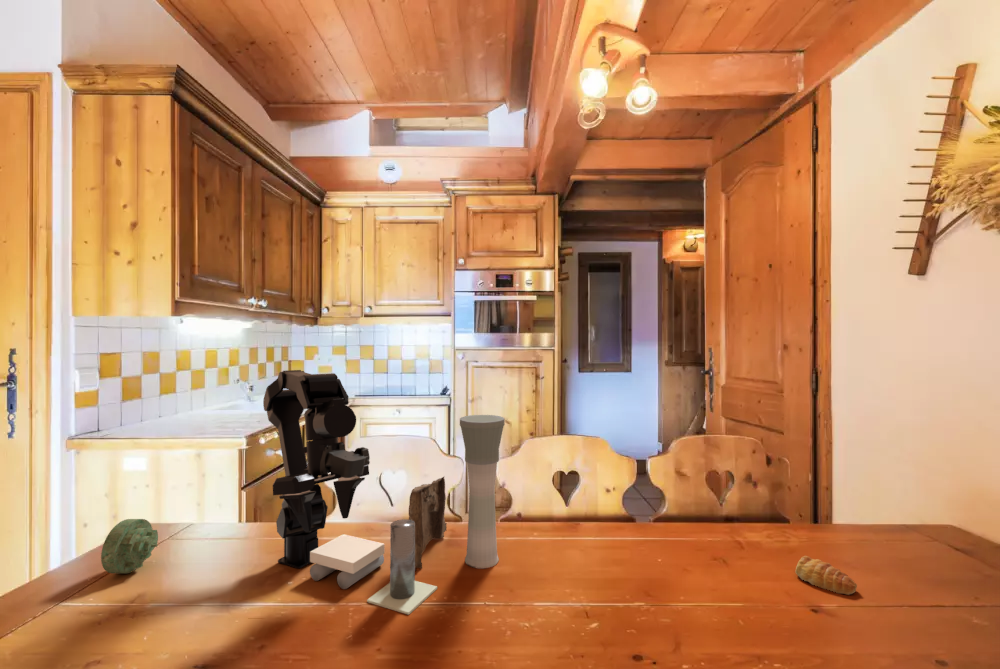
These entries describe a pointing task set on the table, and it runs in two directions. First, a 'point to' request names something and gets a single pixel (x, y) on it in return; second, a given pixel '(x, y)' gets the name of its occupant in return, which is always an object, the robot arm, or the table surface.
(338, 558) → the slab on rollers
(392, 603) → the mat
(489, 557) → the container
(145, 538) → the decorative artifact
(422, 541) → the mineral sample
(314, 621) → the table surface
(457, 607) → the table surface
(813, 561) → the pastry
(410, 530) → the silver metal cylinder
